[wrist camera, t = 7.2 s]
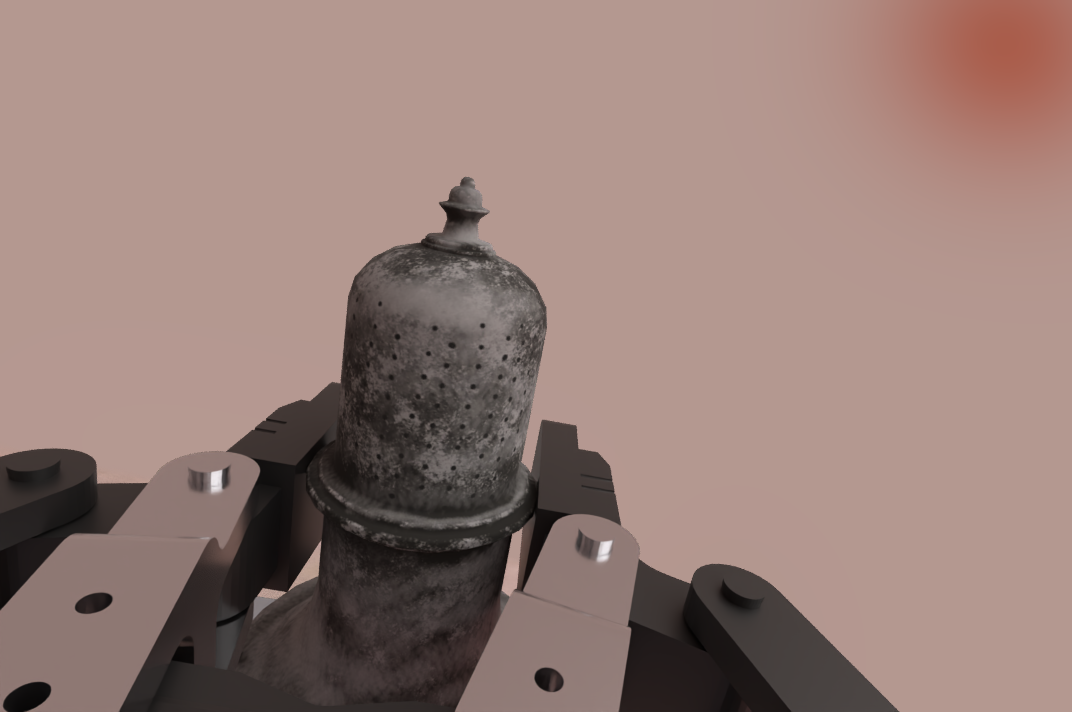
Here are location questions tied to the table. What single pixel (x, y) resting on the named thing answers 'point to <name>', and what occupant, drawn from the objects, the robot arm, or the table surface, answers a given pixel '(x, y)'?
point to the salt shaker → (415, 477)
